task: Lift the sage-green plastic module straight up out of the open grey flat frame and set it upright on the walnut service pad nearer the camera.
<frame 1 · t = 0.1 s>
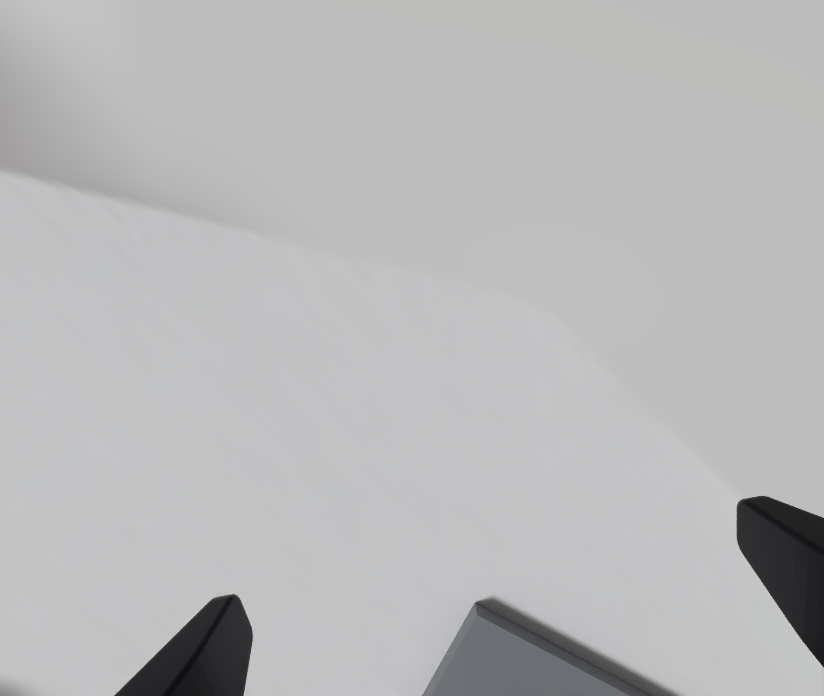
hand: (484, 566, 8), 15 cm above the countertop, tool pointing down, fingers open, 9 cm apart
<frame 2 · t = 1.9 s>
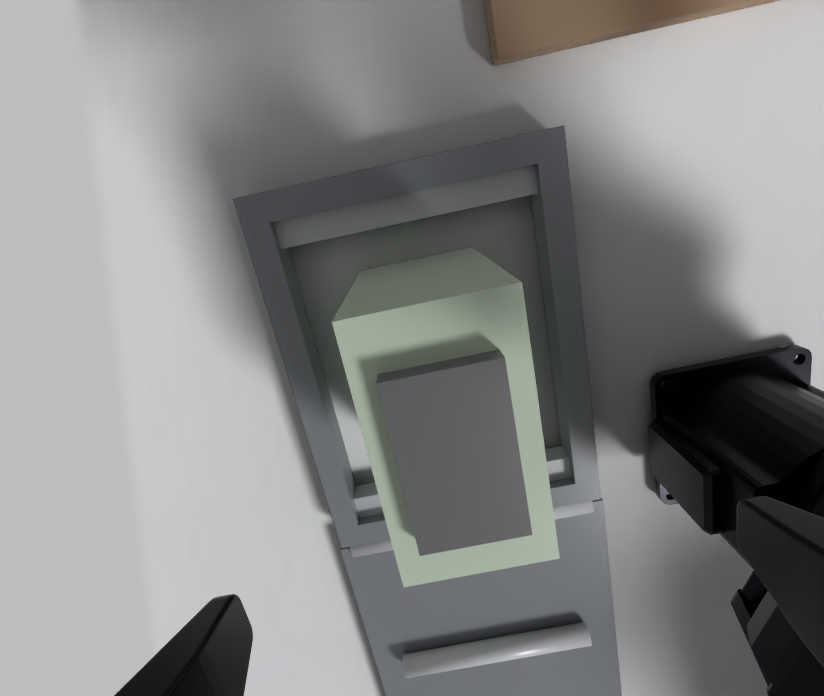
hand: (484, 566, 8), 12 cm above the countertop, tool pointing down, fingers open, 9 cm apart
module: (434, 353, 20), resting in grey flat frame
grey flat frame: (434, 353, 20), on the countertop
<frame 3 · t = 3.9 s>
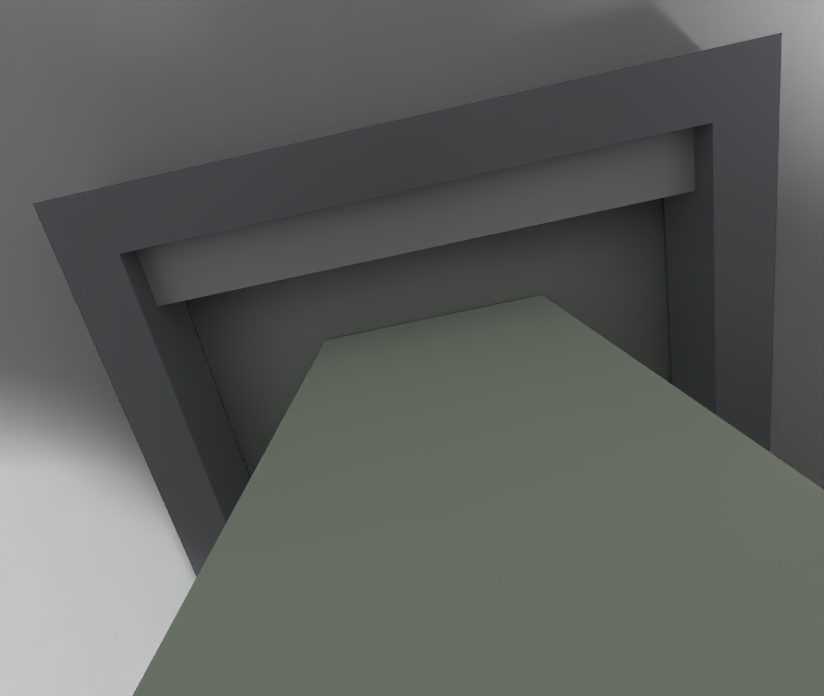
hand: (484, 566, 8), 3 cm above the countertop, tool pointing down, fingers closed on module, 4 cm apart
module: (466, 483, 11), resting in grey flat frame, touching gripper
grey flat frame: (465, 484, 11), on the countertop
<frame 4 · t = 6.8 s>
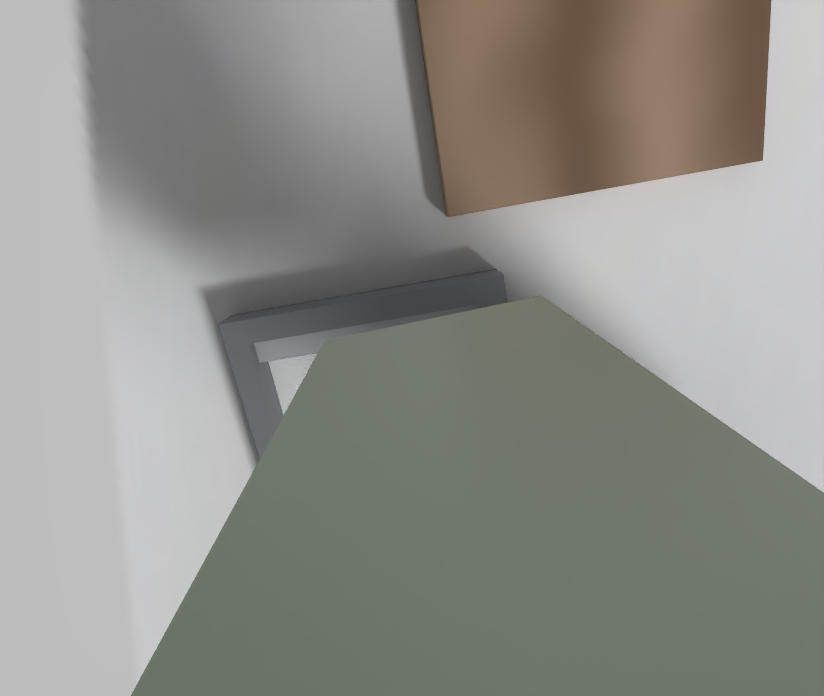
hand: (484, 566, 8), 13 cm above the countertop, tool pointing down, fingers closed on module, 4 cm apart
module: (465, 484, 11), point 10 cm above the countertop, touching gripper
grey flat frame: (394, 446, 22), on the countertop
service pad: (584, 17, 17), on the countertop
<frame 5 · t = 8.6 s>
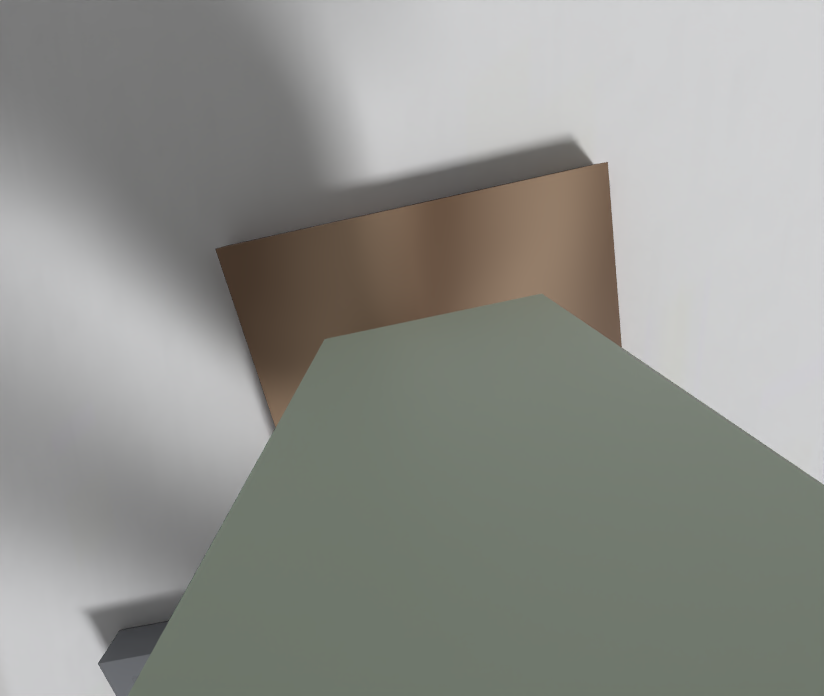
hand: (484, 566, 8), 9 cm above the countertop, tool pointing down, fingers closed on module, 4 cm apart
module: (465, 482, 11), point 6 cm above the countertop, touching gripper
service pad: (442, 376, 17), on the countertop
when the fingers open (5 cm above the countertop, at t = 10.0 s): module drops 1 cm, resting on service pad.
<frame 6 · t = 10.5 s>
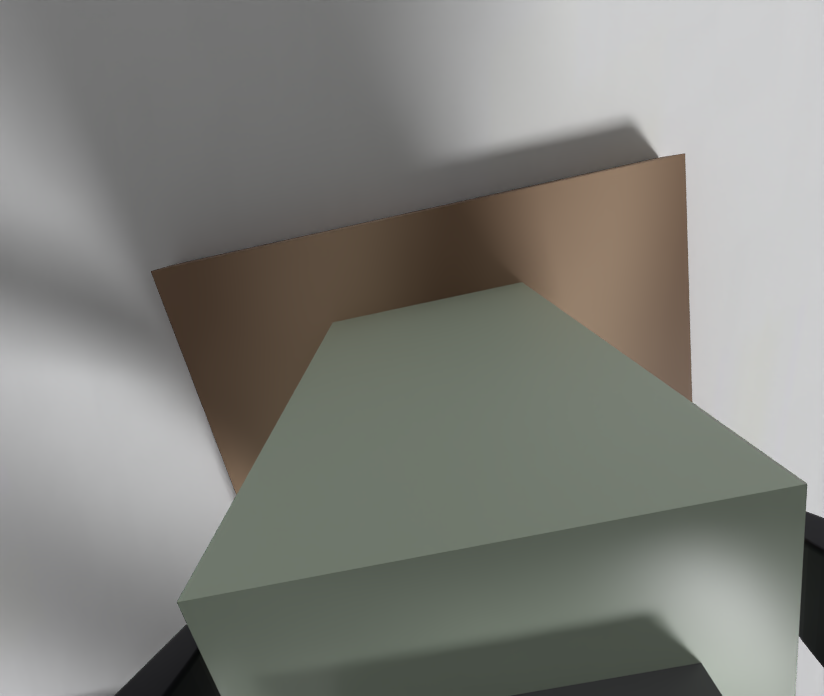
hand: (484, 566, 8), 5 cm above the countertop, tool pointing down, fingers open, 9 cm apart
module: (457, 450, 12), point 1 cm above the countertop, touching service pad
service pad: (454, 431, 13), on the countertop
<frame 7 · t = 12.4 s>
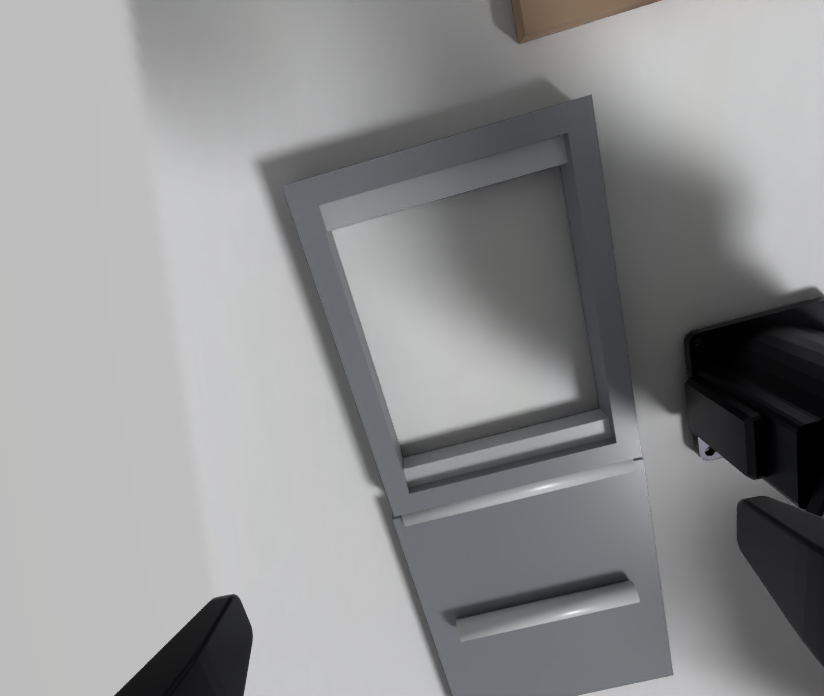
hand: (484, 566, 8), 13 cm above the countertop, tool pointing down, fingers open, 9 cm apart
grey flat frame: (474, 325, 20), on the countertop
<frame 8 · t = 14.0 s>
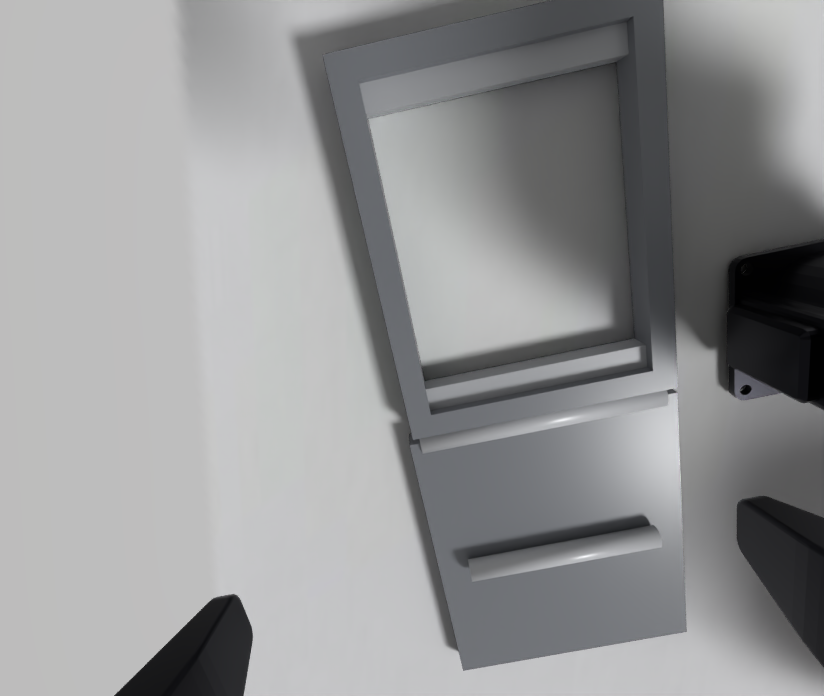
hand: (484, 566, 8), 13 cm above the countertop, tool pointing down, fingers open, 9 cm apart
grey flat frame: (511, 236, 19), on the countertop
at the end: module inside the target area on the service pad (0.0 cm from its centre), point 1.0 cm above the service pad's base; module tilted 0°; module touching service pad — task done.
